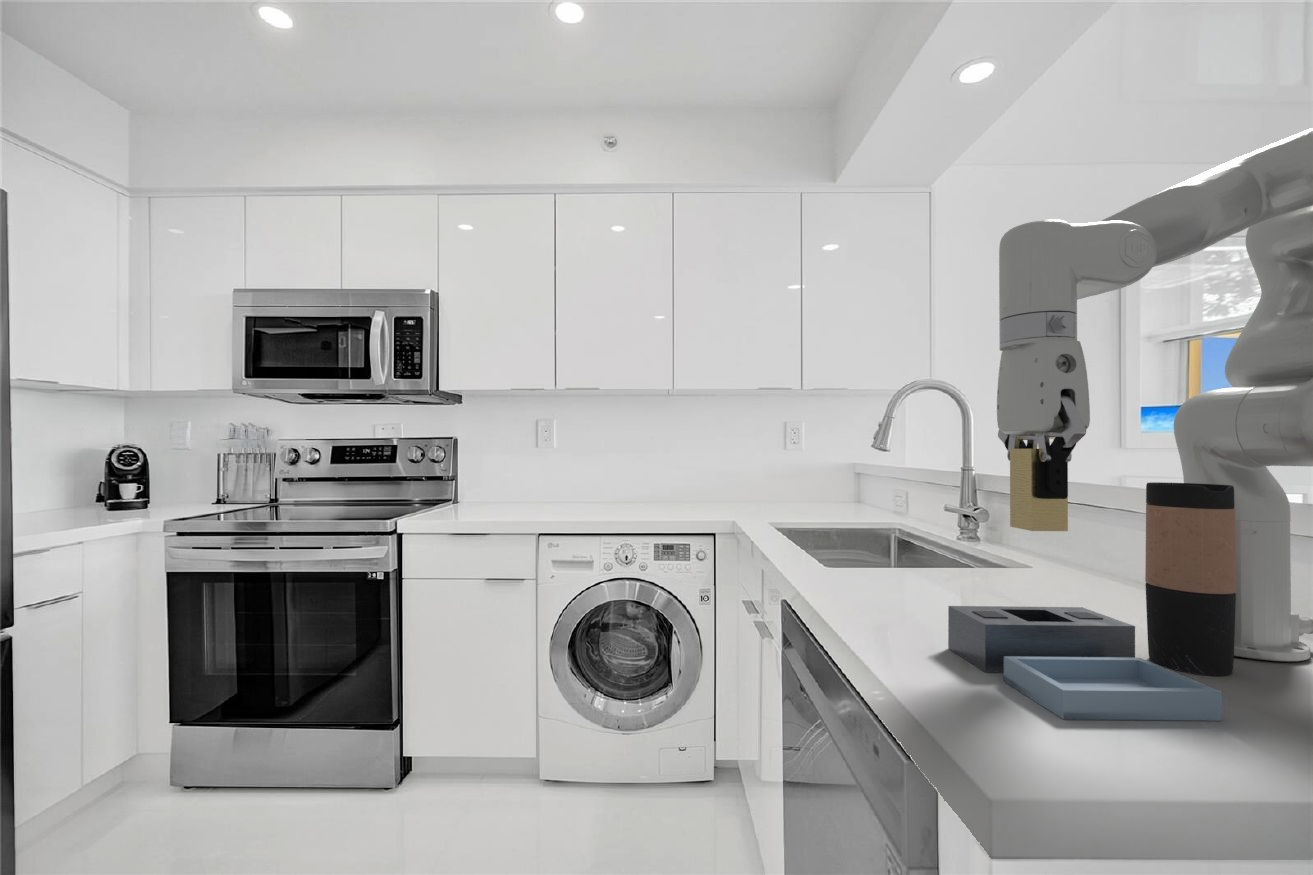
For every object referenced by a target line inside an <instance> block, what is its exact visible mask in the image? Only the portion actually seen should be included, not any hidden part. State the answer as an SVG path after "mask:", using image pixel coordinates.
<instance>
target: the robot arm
mask: <svg viewBox="0 0 1313 875" xmlns="http://www.w3.org/2000/svg"><path fill="white" fill-rule="evenodd" d="M1244 230H1246V235H1245V248H1246V252H1247V254H1248V257H1249V259H1250V262H1251V265H1252V267H1253V270H1254V272H1255V274H1256V278H1257V280H1258V283H1259V287H1260V289H1261V290H1260V292H1261V295H1260V298H1259V301H1258V303H1257V305H1256V307H1255V309H1254V311H1252V313H1251V316H1250V317H1249V319H1248V320H1247V323H1246V324H1245V325H1244V327H1243V329H1242V331H1241V332H1240V334H1239V336H1238V337H1237V339H1236V340H1235V341H1234V342H1235V343H1234V344H1233V346H1232V348H1231V350H1230V351H1229V353H1228V356H1227V357H1226V358H1227V359H1226V361H1225V365H1224V373H1225V377H1226V378H1225V379H1226V381H1227V382H1228V383H1229V384H1230V385H1231V387H1226V388H1225V387H1224V388H1218V389H1217V388H1216V389H1212V390H1208V391H1204V392H1201V393H1198V394H1196V395H1193V396H1191V397H1190V398H1188V399H1187V400H1185V401H1184V402H1183V403H1182V404H1181V405H1180V407H1179V408H1178V410H1177V411H1176V413H1175V415H1174V418H1173V419H1174V420H1173V435H1174V439H1175V444H1176V446H1177V451H1178V455H1179V458H1180V459H1179V460H1180V463H1181V470H1182V475H1183V477H1182V478H1183V483H1197V484H1219V485H1232V486H1233V487H1234V509H1235V559H1236V592H1235V593H1236V611H1235V639H1234V657H1240V658H1245V659H1253V660H1261V661H1271V662H1289V663H1290V662H1303V661H1306V660H1309V659H1310V658H1311V656H1312V655H1311V654H1312V652H1311V648H1310V646H1308V645H1307V644H1305V643H1304V642H1302V641H1300V637H1301V636H1303V635H1304V634H1308V635H1313V617H1311V616H1310V617H1308V616H1307V617H1300V614H1299V613H1294V612H1292V599H1291V598H1292V594H1291V593H1292V590H1291V589H1292V588H1291V587H1292V586H1291V585H1292V581H1291V576H1292V574H1291V573H1292V571H1291V568H1292V567H1291V506H1290V501H1289V499H1288V496H1287V493H1286V492H1285V489H1283V487H1282V486H1281V484H1280V483H1279V481H1278V480H1277V479H1276V478H1275V476H1274V475H1273V474H1272V473H1271V472H1270V470H1269V469H1268V467H1272V466H1273V467H1277V466H1278V467H1313V127H1312V128H1309V129H1306V130H1303V131H1301V132H1299V133H1297V134H1293V135H1291V136H1289V137H1286V138H1284V139H1281V140H1279V141H1277V142H1274V143H1270V144H1269V145H1266V146H1264V147H1262V148H1258V149H1256V150H1254V151H1252V152H1250V153H1247V154H1244V155H1242V156H1239V157H1235V158H1234V159H1231V160H1229V161H1227V162H1225V163H1222V164H1220V165H1218V166H1216V167H1214V168H1211V169H1209V170H1207V171H1204V172H1202V173H1200V174H1198V175H1196V176H1192V177H1191V178H1188V179H1187V180H1185V181H1182V182H1180V183H1178V184H1175V185H1172V186H1171V187H1168V188H1166V189H1164V190H1162V191H1160V192H1158V193H1155V194H1152V195H1151V196H1148V197H1146V198H1144V199H1142V200H1140V201H1137V203H1135V204H1132V205H1130V206H1128V207H1126V208H1124V209H1123V210H1120V211H1118V212H1117V213H1114V214H1112V215H1111V216H1108V217H1106V218H1104V219H1102V220H1100V221H1097V222H1088V223H1085V222H1084V223H1069V222H1067V221H1066V220H1061V219H1041V220H1034V221H1029V222H1026V223H1025V222H1024V223H1023V224H1019V225H1016V226H1014V227H1012V228H1010V229H1008V231H1006V232H1005V233H1004V234H1003V235H1002V237H1001V238H1000V242H999V247H998V249H999V250H998V251H999V252H998V253H999V255H998V256H999V258H998V264H999V265H998V267H999V268H998V273H999V274H998V279H999V280H998V281H999V282H998V286H999V290H998V291H999V293H998V294H999V300H998V301H999V302H998V303H999V307H998V308H999V309H998V311H999V319H998V320H999V345H998V346H999V351H1000V352H1001V355H1000V360H999V367H998V378H997V391H996V392H997V393H996V394H997V395H996V417H997V418H996V419H997V420H996V422H997V428H998V432H997V437H998V439H999V440H1000V441H1001V442H1002V444H1004V447H1005V449H1006V450H1007V455H1006V456H1007V460H1008V461H1009V462H1010V449H1039V456H1040V460H1041V461H1042V462H1036V497H1037V498H1040V499H1066V498H1067V497H1069V475H1068V474H1069V467H1068V466H1069V462H1071V460H1072V459H1073V458H1072V455H1073V454H1072V452H1073V450H1074V448H1076V445H1077V444H1078V443H1079V441H1081V439H1083V438H1084V437H1085V436H1086V434H1087V430H1088V428H1089V427H1090V424H1091V423H1090V422H1091V407H1090V404H1091V403H1090V391H1089V380H1088V371H1087V366H1086V359H1085V355H1084V351H1083V347H1082V343H1081V341H1079V340H1078V300H1081V299H1085V298H1089V297H1093V296H1098V295H1101V294H1105V293H1109V292H1112V291H1116V290H1120V289H1123V288H1126V287H1128V286H1131V285H1133V284H1135V283H1137V282H1138V281H1140V280H1142V279H1143V278H1144V277H1145V276H1147V274H1149V273H1150V271H1151V270H1152V268H1155V267H1158V266H1159V267H1160V266H1162V265H1165V264H1168V263H1171V262H1175V261H1177V260H1180V259H1183V258H1186V257H1188V256H1191V255H1194V254H1196V253H1198V252H1201V251H1203V250H1205V249H1207V248H1209V247H1211V246H1213V245H1215V244H1217V243H1218V242H1221V241H1222V240H1225V239H1226V238H1228V237H1230V236H1233V235H1235V234H1238V233H1240V232H1242V231H1244ZM1050 440H1052V442H1050ZM1025 441H1026V442H1027V443H1025Z"/></svg>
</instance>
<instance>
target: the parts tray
mask: <svg viewBox="0 0 1313 875" xmlns="http://www.w3.org/2000/svg"><path fill="white" fill-rule="evenodd" d="M1003 682H1004V683H1006V684H1007V685H1009V686H1011V687H1012V688H1014V690H1016V691H1018V692H1020V693H1021V694H1023V695H1025V696H1026V697H1027V698H1029V699H1031V700H1032V701H1033V702H1036V704H1039V705H1041V706H1042V707H1044V708H1045V709H1046V710H1048V711H1049V712H1051V713H1053V714H1054V715H1056V716H1057V717H1059V718H1060V719H1062V720H1078V721H1079V720H1085V721H1086V720H1087V721H1088V720H1090V721H1091V720H1096V721H1097V720H1101V721H1102V720H1105V721H1107V720H1112V721H1118V720H1119V721H1209V722H1210V721H1217V722H1218V721H1223V691H1221V690H1218V689H1216V688H1214V687H1211V686H1209V685H1206V684H1204V683H1202V682H1200V681H1198V680H1195V679H1192V678H1190V677H1189V676H1188V677H1187V676H1185V675H1182V674H1181V673H1178V672H1175V671H1174V670H1172V669H1170V668H1167V667H1164V666H1161V665H1159V664H1156V663H1154V662H1153V661H1149V660H1146V659H1145V658H1141V657H1135V658H1128V657H1022V656H1004V673H1003Z"/></svg>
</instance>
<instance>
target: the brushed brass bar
mask: <svg viewBox="0 0 1313 875" xmlns="http://www.w3.org/2000/svg"><path fill="white" fill-rule="evenodd" d="M1036 462H1042V461H1041V460H1040V456H1039V448H1037V449H1010V461H1009V525H1010V526H1009V527H1010V528H1015V529H1021V530H1025V531H1030V532H1068V531H1069V522H1068V521H1069V520H1068V519H1069V518H1068V516H1069V514H1068V512H1069V510H1068V509H1069V508H1068V506H1069V505H1068V504H1069V502H1068V499H1069V498H1068V497H1069V496H1068V497H1067V498H1066V499H1040V498H1037V497H1036Z"/></svg>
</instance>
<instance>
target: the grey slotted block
mask: <svg viewBox="0 0 1313 875" xmlns="http://www.w3.org/2000/svg"><path fill="white" fill-rule="evenodd" d="M947 612H948V613H947V614H948V629H947V631H948V636H947V637H948V640H947V641H948V642H947V644H948V645H947V647H948V649H949V650H950V651H952V652H953V653H955V654H956V655H957V656H959V657H961V658H963V659H964V660H965V661H967V662H969V663H970V664H971V665H973V666H975V667H977V668H978V669H980V670H981V671H983V672H984V673H996V674H997V673H1000V674H1001V673H1003V674H1004V656H1022V657H1128V658H1136V626H1135V625H1133V624H1130V623H1128V622H1124V621H1122V620H1119V619H1116V618H1113V617H1111V616H1107V615H1104V614H1101V613H1100V612H1096V611H1093V610H1091V609H1088V608H1086V607H1082V606H1081V607H1080V606H1077V607H1076V606H1075V607H1074V606H1010V605H1009V606H1006V605H1004V606H998V605H997V606H994V605H993V606H992V605H991V606H989V605H986V606H985V605H948V611H947Z"/></svg>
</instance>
